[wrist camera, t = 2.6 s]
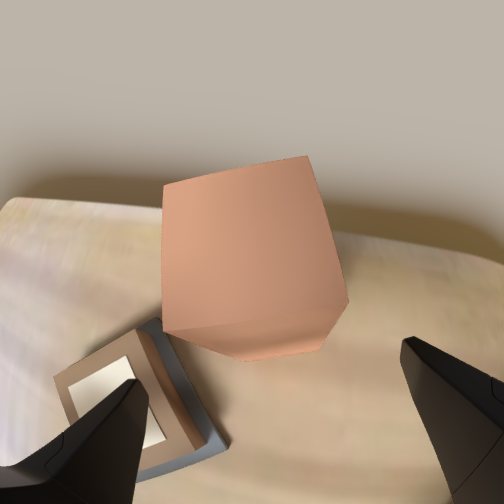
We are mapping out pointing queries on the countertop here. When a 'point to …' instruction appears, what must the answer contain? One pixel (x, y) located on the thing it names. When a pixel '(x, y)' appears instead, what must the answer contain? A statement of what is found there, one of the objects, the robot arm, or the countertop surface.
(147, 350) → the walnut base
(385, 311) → the countertop surface
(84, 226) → the countertop surface
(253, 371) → the countertop surface
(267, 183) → the terracotta block
